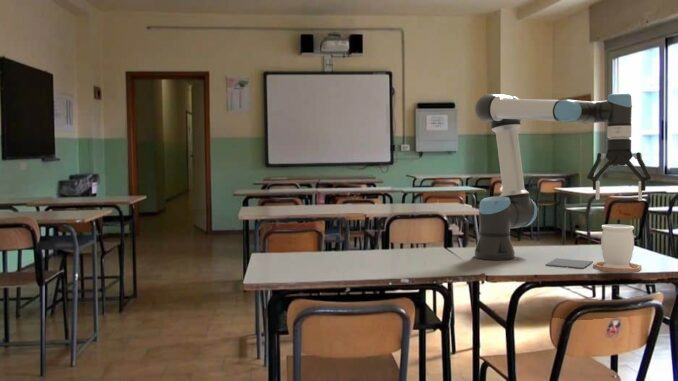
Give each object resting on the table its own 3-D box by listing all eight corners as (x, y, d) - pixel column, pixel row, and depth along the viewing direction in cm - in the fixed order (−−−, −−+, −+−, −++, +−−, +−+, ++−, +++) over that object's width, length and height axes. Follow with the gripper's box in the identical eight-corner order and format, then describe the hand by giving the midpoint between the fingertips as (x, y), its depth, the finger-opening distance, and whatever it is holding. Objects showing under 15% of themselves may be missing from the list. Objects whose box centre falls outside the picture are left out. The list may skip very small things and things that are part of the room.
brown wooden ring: (590, 269, 214) (590, 266, 214) (599, 263, 226) (599, 260, 226) (636, 273, 206) (636, 270, 206) (643, 266, 218) (643, 263, 218)
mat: (545, 265, 222) (545, 264, 222) (556, 259, 235) (556, 258, 235) (583, 269, 215) (583, 267, 215) (592, 262, 227) (592, 261, 227)
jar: (594, 266, 219) (594, 224, 219) (618, 264, 223) (618, 223, 222) (615, 272, 209) (616, 227, 209) (640, 270, 212) (641, 226, 212)
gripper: (578, 139, 217) (578, 199, 218) (658, 137, 203) (657, 201, 205) (583, 139, 223) (583, 198, 225) (661, 137, 210) (660, 200, 211)
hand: (618, 200), depth 215 cm, fingers open, 13 cm apart
